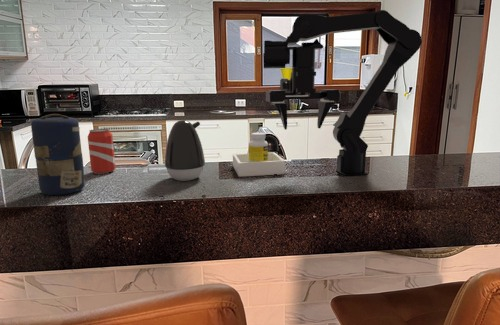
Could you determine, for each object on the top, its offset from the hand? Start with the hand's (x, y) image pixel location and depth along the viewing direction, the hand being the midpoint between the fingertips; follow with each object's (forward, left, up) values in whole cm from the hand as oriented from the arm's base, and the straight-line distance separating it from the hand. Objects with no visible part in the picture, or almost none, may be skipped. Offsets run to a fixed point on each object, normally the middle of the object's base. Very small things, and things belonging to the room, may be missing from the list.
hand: (302, 128), depth 96 cm
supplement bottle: (+11, -6, -12) cm, 17 cm away
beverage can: (+54, -13, -12) cm, 57 cm away
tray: (+11, -6, -12) cm, 17 cm away
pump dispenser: (+31, -1, -12) cm, 33 cm away
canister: (+59, +5, -12) cm, 60 cm away
